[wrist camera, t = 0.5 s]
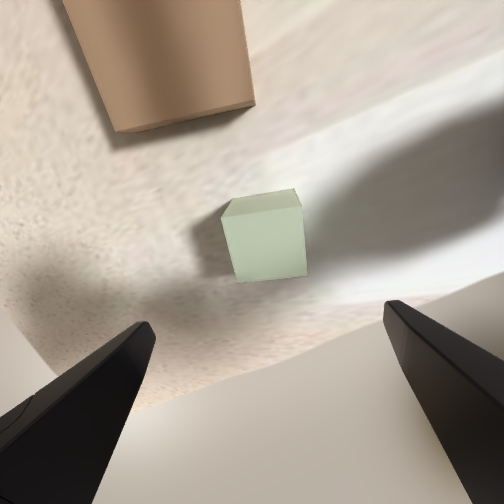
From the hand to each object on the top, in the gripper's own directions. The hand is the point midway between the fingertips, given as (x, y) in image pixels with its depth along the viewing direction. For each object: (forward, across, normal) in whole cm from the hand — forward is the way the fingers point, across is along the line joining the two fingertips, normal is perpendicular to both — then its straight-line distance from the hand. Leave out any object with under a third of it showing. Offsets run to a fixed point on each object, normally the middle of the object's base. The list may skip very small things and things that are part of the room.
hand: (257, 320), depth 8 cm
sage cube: (+12, 0, 0) cm, 12 cm away
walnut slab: (+12, +4, -13) cm, 18 cm away
